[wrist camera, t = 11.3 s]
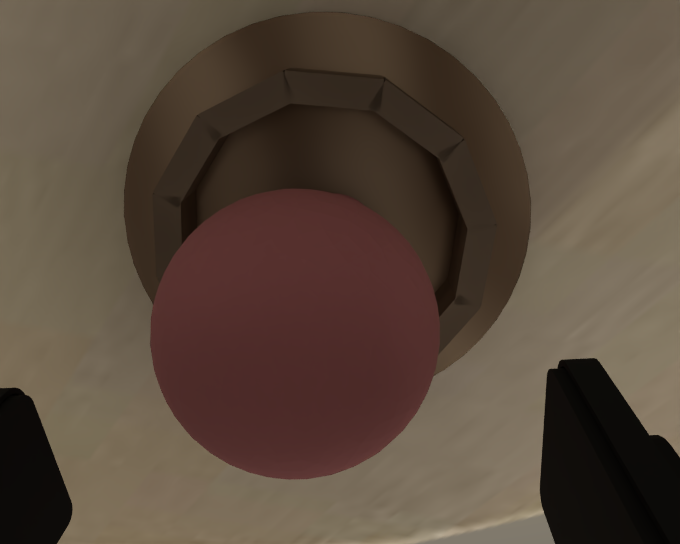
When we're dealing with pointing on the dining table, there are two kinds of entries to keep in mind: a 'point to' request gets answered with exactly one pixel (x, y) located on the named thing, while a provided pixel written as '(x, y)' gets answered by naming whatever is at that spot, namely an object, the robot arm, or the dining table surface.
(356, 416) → the light bulb
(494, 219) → the holder
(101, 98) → the dining table surface
